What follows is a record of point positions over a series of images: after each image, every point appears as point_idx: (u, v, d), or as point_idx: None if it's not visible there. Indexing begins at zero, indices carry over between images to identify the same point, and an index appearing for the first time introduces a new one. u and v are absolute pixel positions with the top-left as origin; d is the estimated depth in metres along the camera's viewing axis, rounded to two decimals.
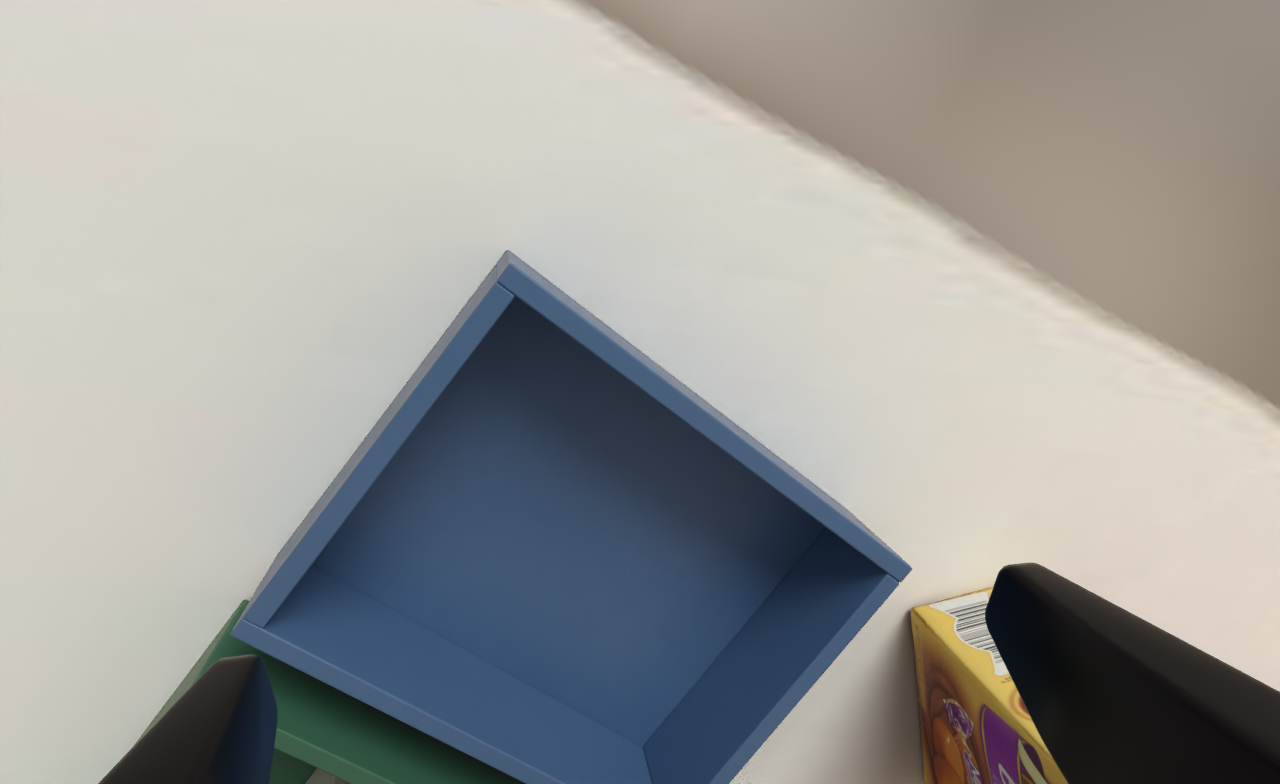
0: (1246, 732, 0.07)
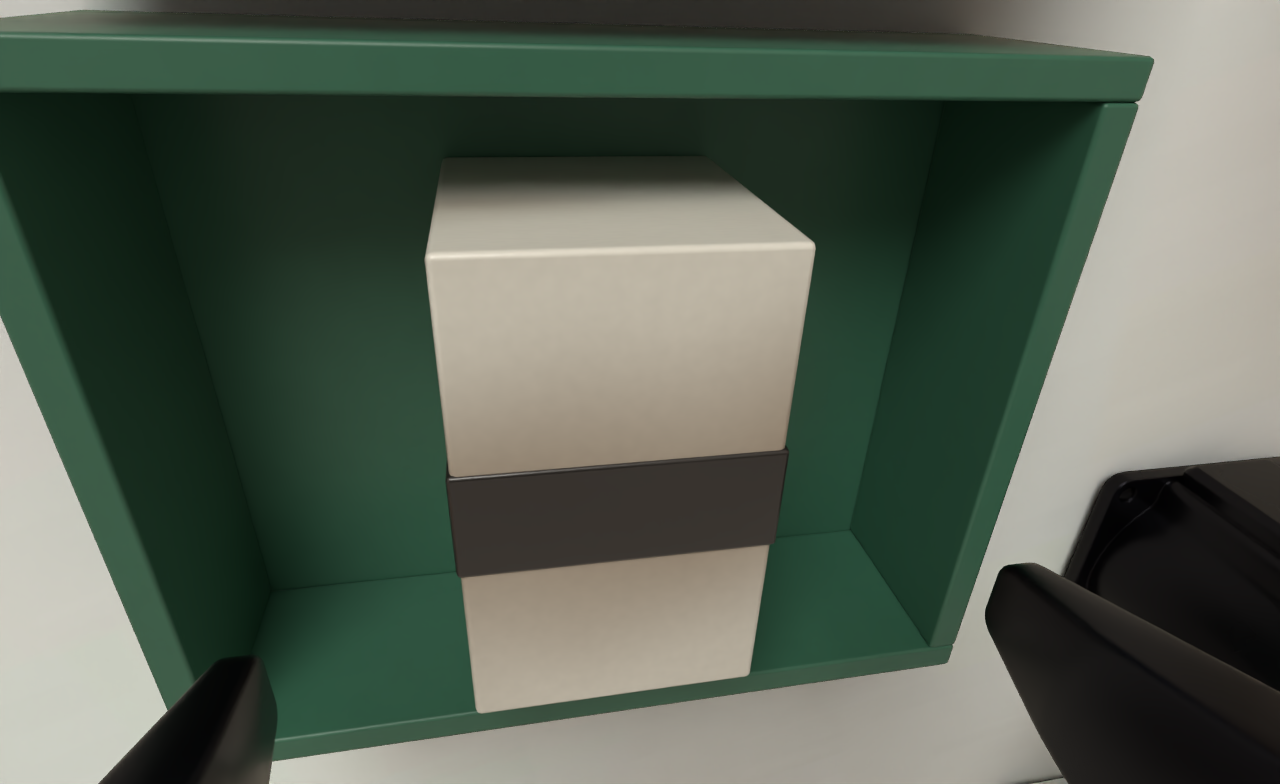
0: (1246, 732, 0.07)
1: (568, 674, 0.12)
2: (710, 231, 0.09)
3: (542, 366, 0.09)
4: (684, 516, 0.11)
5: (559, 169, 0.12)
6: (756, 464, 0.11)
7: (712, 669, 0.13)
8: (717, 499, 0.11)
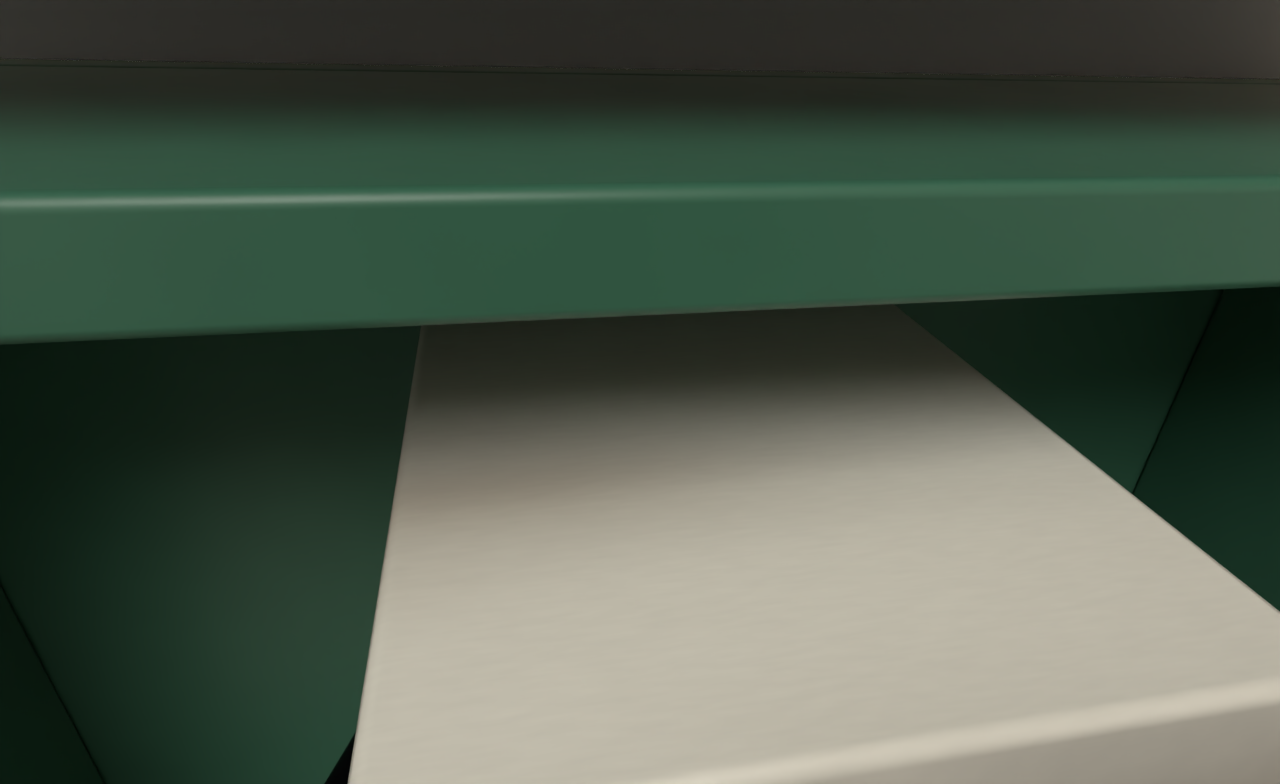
0: None
1: None
2: (1069, 622, 0.04)
3: None
4: None
5: (638, 342, 0.07)
6: None
7: None
8: None
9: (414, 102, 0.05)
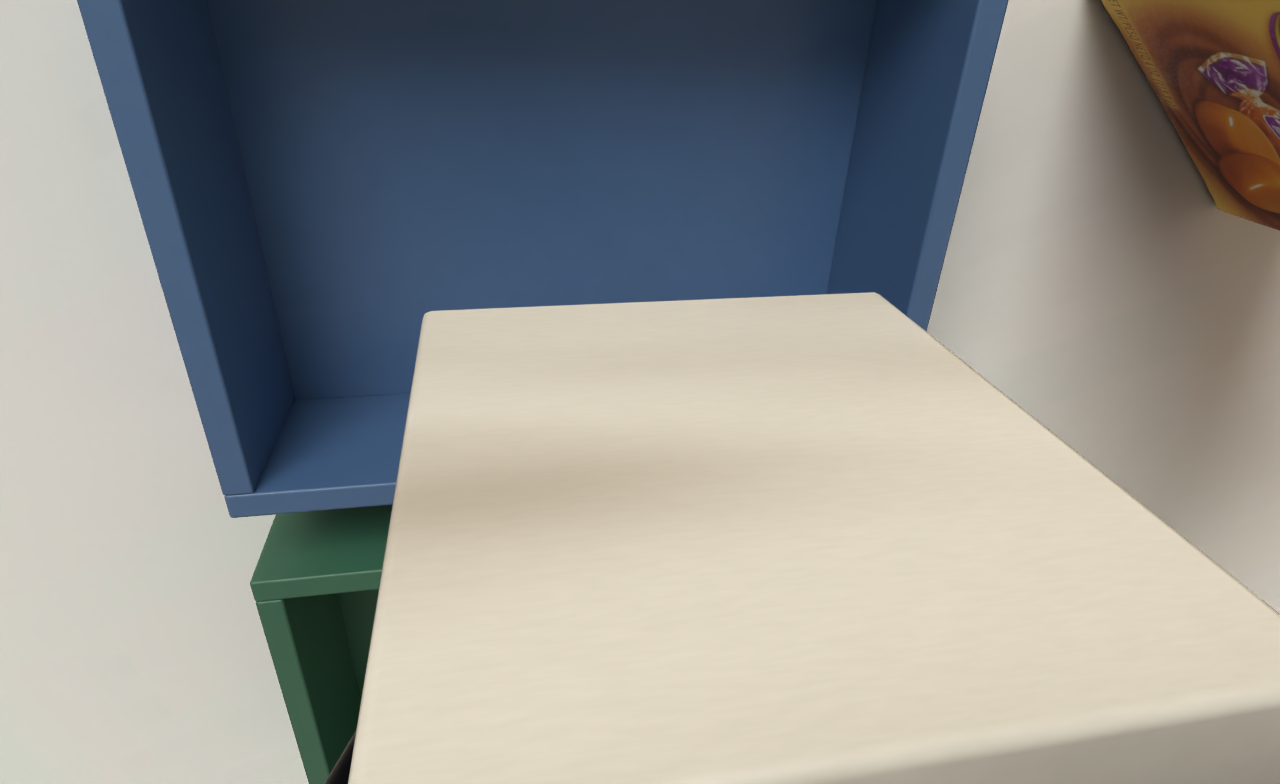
0: None
1: None
2: (1066, 625, 0.04)
3: None
4: None
5: (638, 343, 0.07)
6: None
7: None
8: None
9: None
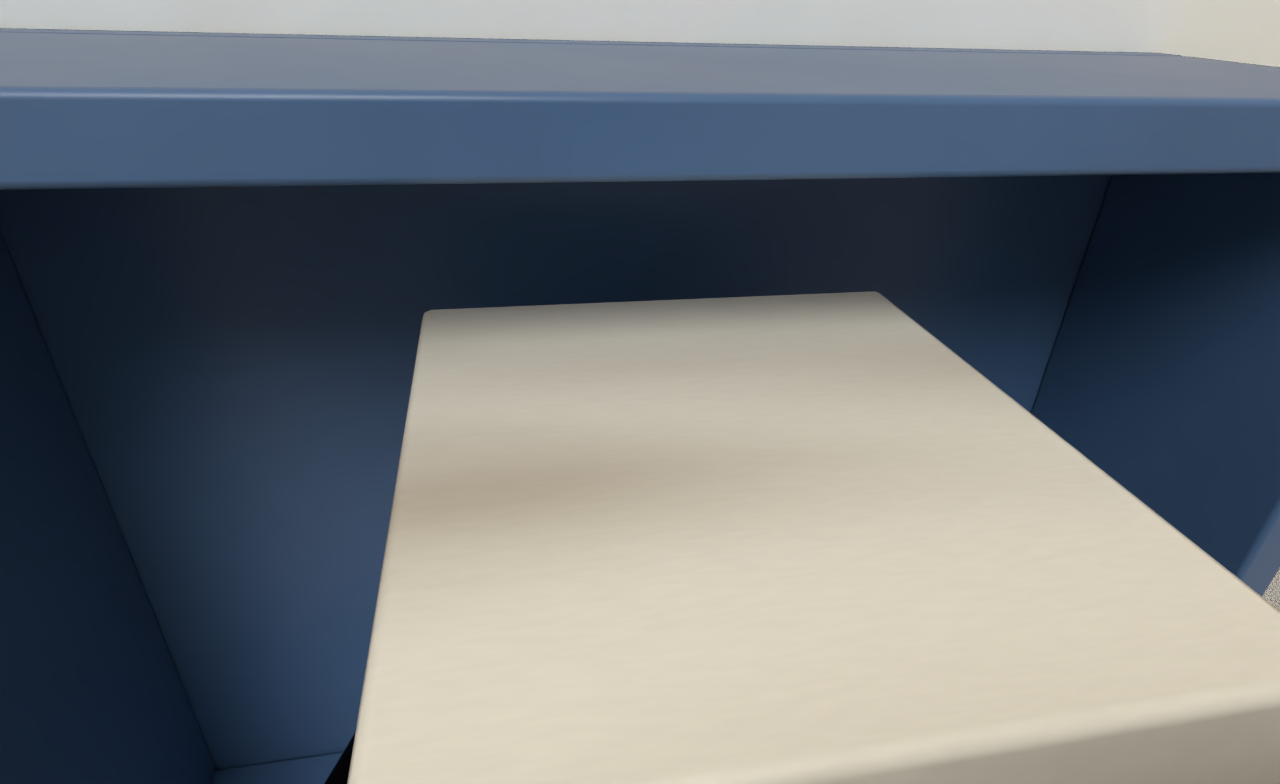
0: None
1: None
2: (1070, 624, 0.04)
3: None
4: None
5: (638, 342, 0.07)
6: None
7: None
8: None
9: None
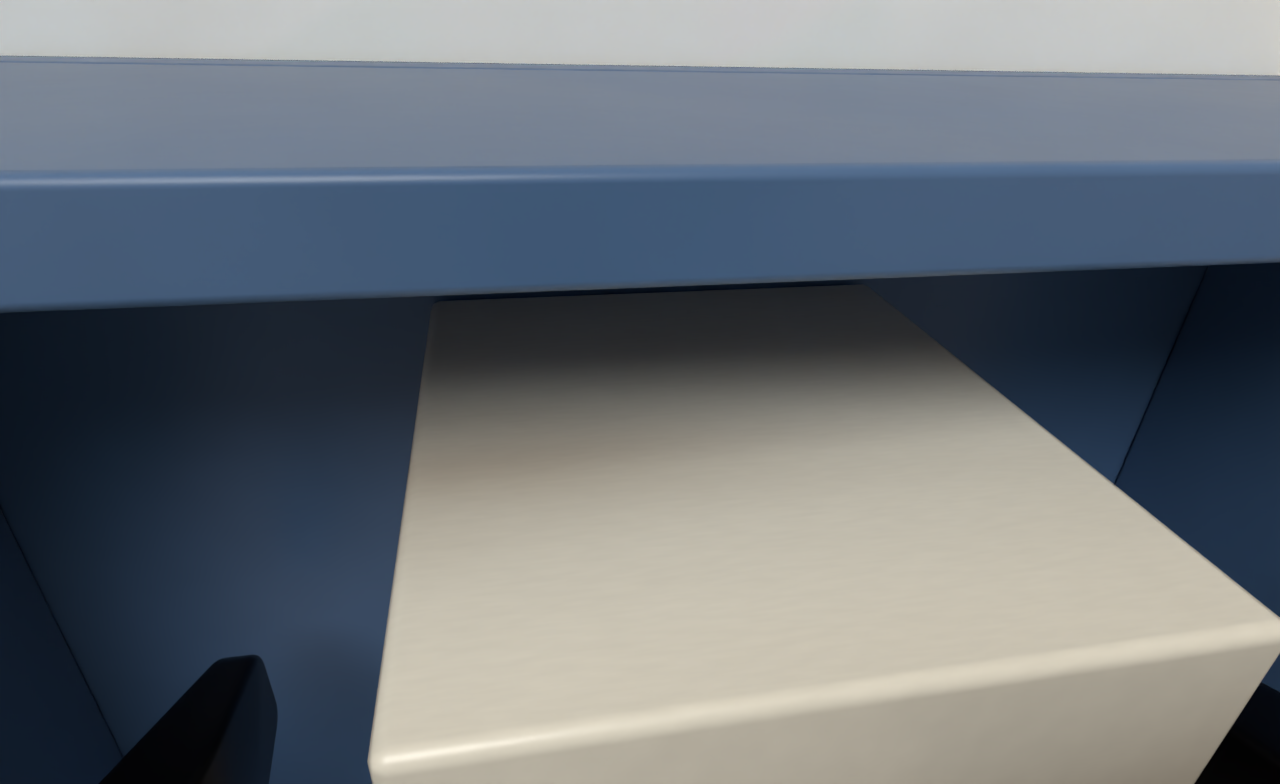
0: (1246, 732, 0.07)
1: None
2: (1026, 581, 0.04)
3: None
4: None
5: (637, 331, 0.07)
6: None
7: None
8: None
9: None
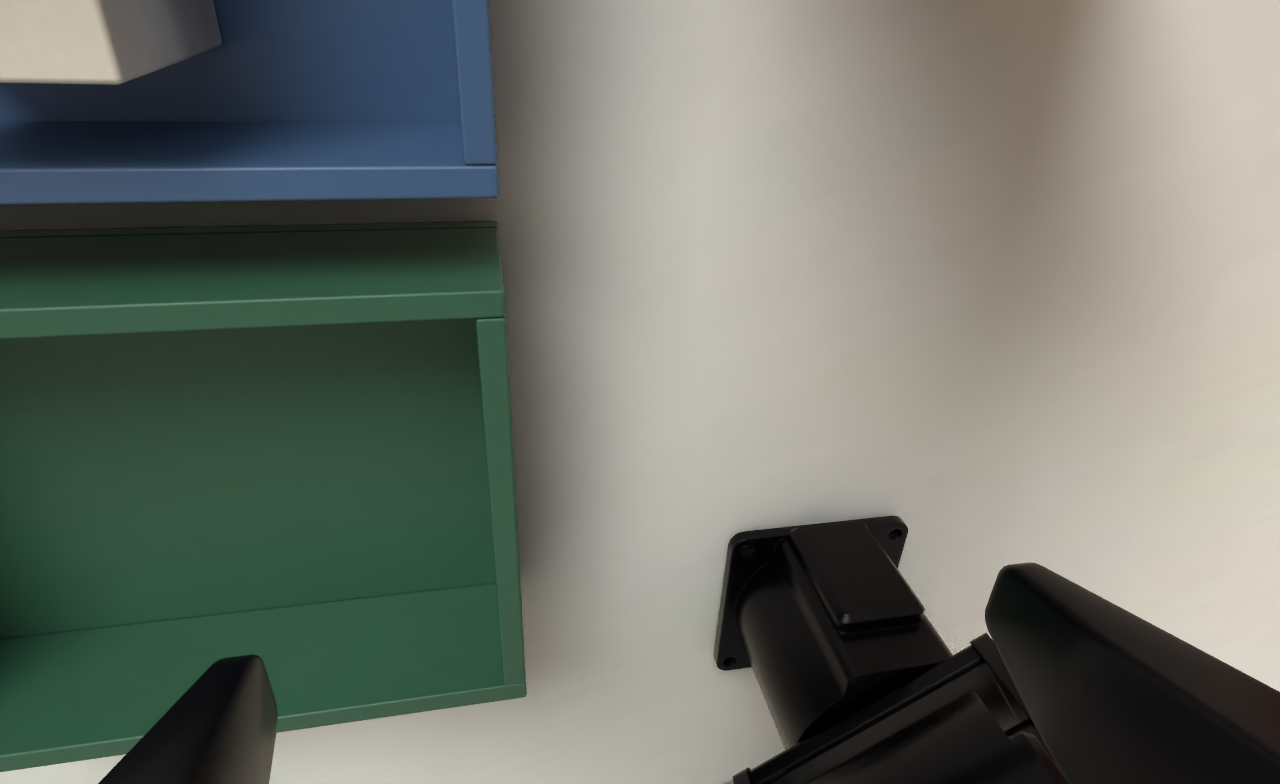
0: (1246, 732, 0.07)
1: None
2: None
3: None
4: None
5: None
6: None
7: (55, 57, 0.10)
8: None
9: None
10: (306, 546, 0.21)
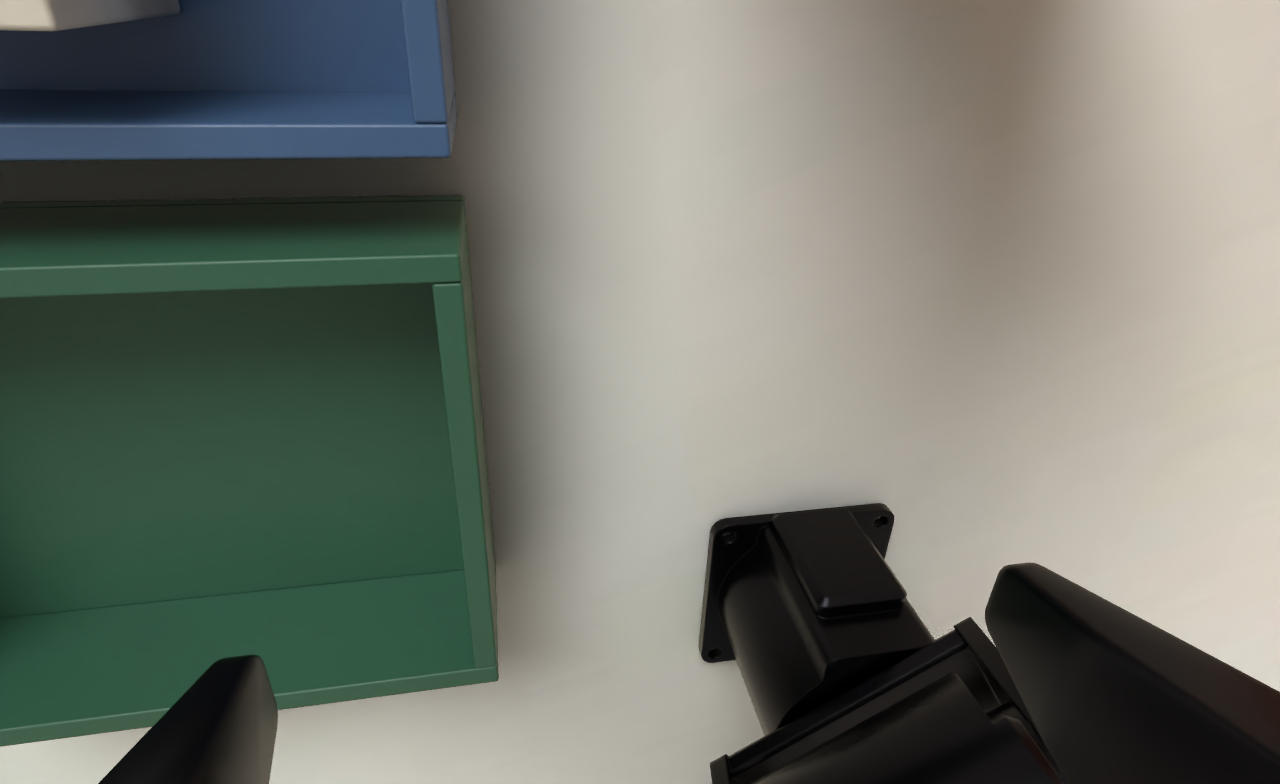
0: (1246, 732, 0.07)
1: None
2: None
3: None
4: None
5: None
6: None
7: None
8: None
9: None
10: (278, 528, 0.21)
